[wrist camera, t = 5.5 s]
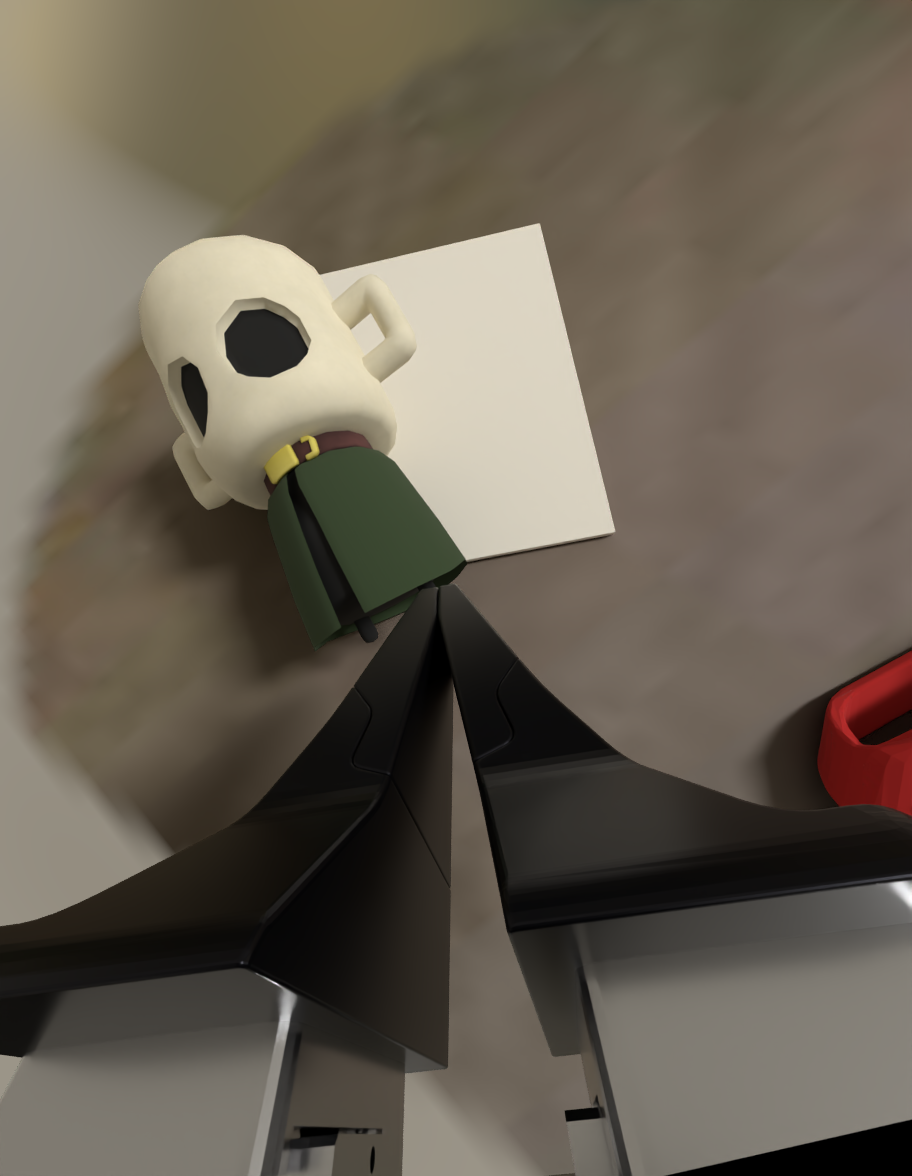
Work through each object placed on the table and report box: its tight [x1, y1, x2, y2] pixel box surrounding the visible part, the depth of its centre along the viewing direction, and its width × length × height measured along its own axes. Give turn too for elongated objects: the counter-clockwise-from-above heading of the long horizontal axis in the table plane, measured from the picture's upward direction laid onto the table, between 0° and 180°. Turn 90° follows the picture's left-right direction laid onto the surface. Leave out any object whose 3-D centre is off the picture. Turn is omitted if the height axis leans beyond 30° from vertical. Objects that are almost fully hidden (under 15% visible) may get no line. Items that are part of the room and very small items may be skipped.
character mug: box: [138, 235, 467, 651], centre depth 15 cm, size 11×7×13 cm
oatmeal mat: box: [319, 223, 615, 562], centre depth 19 cm, size 16×14×1 cm
